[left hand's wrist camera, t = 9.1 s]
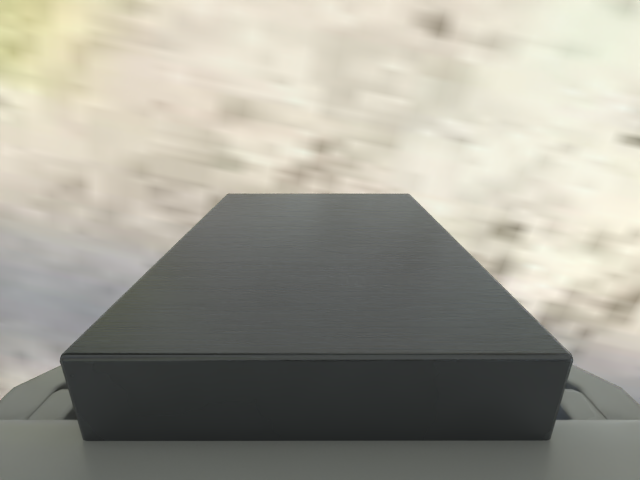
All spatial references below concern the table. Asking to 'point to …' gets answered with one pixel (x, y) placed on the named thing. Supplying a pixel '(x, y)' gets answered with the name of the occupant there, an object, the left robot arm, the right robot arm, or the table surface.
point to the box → (316, 334)
